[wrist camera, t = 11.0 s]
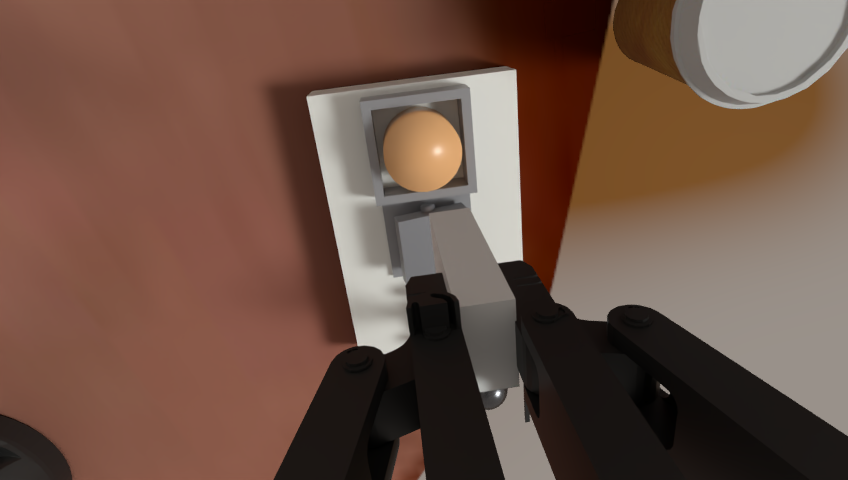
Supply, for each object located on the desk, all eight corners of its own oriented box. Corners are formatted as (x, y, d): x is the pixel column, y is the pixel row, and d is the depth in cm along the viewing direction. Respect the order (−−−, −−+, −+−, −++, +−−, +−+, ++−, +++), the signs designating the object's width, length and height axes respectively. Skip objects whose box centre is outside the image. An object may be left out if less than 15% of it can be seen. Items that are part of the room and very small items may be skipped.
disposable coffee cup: (710, 79, 37) (849, 103, 26) (587, 92, 37) (676, 121, 26) (731, -67, 33) (906, -112, 22) (594, -55, 33) (703, -95, 22)
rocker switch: (402, 279, 37) (408, 290, 35) (391, 210, 34) (397, 218, 33) (464, 264, 38) (472, 273, 36) (458, 196, 35) (466, 203, 34)
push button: (388, 183, 35) (389, 196, 32) (377, 111, 33) (377, 119, 30) (458, 173, 35) (465, 186, 32) (451, 102, 33) (458, 109, 30)
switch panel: (362, 343, 44) (360, 383, 39) (311, 91, 35) (301, 101, 30) (516, 321, 44) (533, 358, 39) (505, 66, 35) (526, 72, 30)
